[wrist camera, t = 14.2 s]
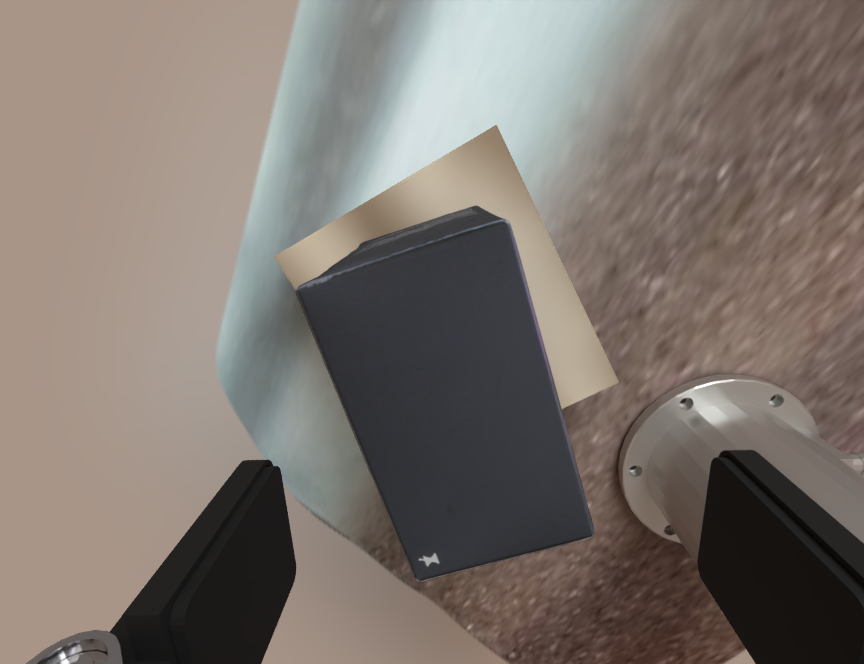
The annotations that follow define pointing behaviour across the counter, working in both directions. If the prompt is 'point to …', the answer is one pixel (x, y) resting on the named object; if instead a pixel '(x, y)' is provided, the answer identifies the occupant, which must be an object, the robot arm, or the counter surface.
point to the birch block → (502, 196)
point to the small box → (450, 392)
